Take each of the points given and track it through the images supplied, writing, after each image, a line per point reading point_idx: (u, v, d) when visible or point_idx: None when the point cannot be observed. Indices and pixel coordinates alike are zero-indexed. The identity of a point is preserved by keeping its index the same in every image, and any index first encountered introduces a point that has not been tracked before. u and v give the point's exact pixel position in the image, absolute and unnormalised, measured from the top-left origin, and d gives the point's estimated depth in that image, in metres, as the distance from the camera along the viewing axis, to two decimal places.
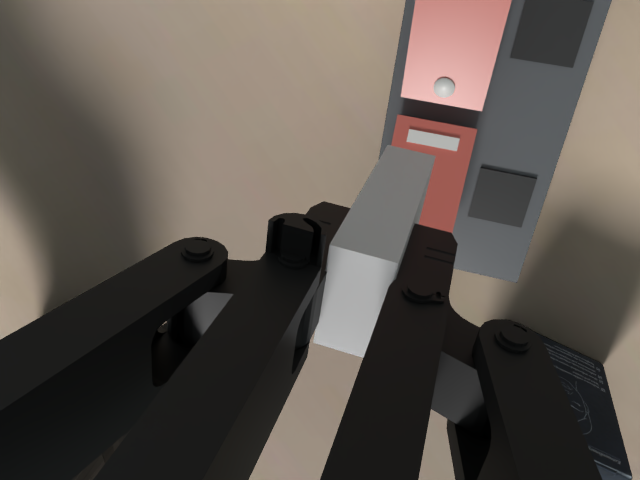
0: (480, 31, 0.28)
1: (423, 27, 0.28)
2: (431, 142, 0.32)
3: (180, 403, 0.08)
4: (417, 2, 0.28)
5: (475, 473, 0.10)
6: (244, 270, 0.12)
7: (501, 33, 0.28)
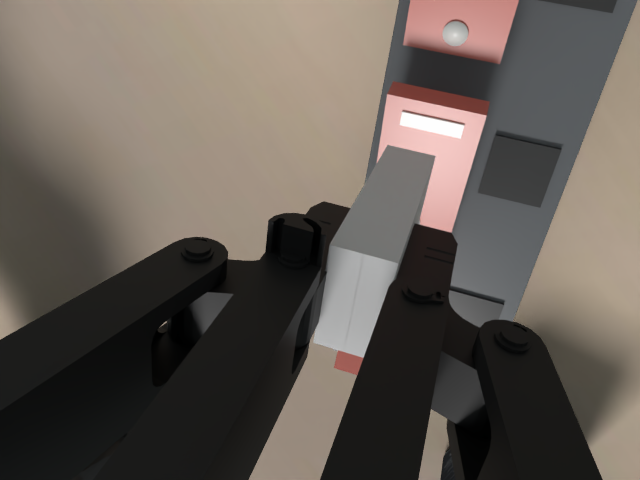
0: (444, 178, 0.27)
1: None
2: None
3: (180, 403, 0.08)
4: (381, 147, 0.27)
5: (475, 473, 0.10)
6: (244, 270, 0.12)
7: (465, 182, 0.27)
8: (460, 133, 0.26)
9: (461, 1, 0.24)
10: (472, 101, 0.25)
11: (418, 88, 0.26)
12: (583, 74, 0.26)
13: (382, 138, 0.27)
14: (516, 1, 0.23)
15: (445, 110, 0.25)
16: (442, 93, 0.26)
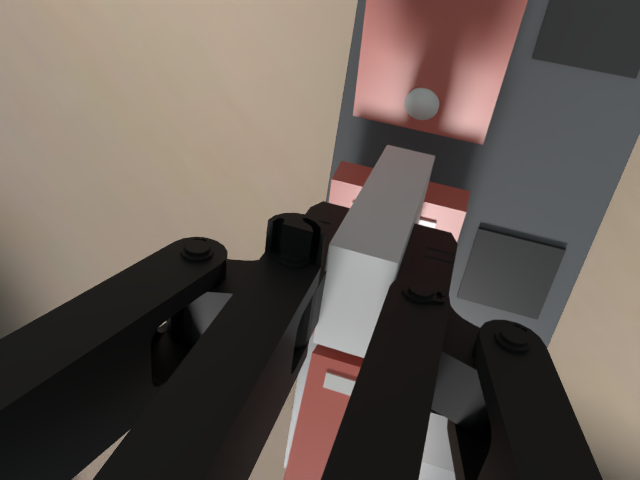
0: None
1: None
2: None
3: (180, 403, 0.08)
4: None
5: (475, 473, 0.10)
6: (243, 270, 0.12)
7: None
8: None
9: (428, 62, 0.17)
10: (447, 190, 0.19)
11: None
12: (595, 156, 0.19)
13: None
14: (504, 65, 0.17)
15: None
16: None
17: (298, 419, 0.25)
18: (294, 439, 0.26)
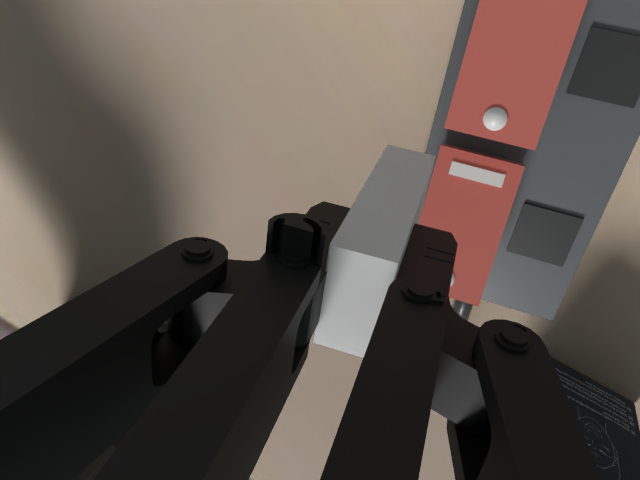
0: (543, 54, 0.26)
1: (480, 46, 0.26)
2: (474, 176, 0.30)
3: (180, 403, 0.08)
4: (477, 17, 0.26)
5: (475, 473, 0.10)
6: (244, 270, 0.12)
7: (566, 58, 0.25)
8: None
9: None
10: None
11: None
12: None
13: (480, 5, 0.26)
14: None
15: None
16: None
17: (425, 204, 0.31)
18: (420, 221, 0.31)
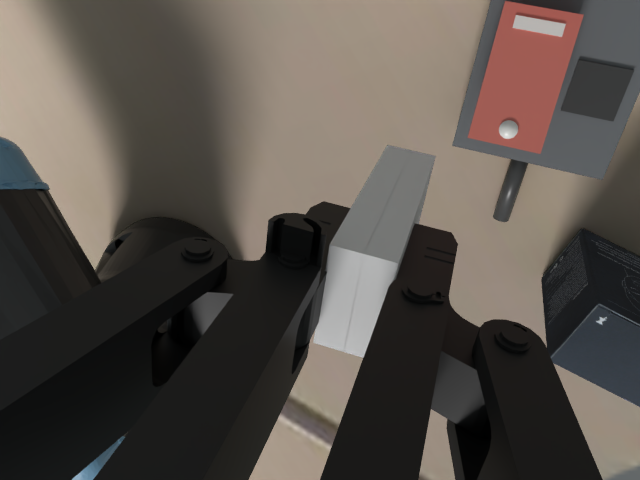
0: None
1: None
2: (536, 28, 0.33)
3: (180, 403, 0.08)
4: None
5: (475, 473, 0.10)
6: (244, 270, 0.12)
7: None
8: None
9: None
10: None
11: None
12: None
13: None
14: None
15: None
16: None
17: (490, 59, 0.34)
18: (485, 76, 0.34)
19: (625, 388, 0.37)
